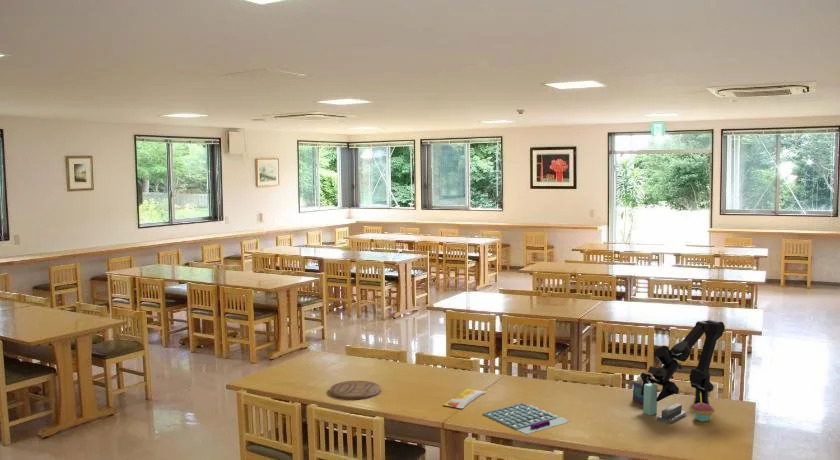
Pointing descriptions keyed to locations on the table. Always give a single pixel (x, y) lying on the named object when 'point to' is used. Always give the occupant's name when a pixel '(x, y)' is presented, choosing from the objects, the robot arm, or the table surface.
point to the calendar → (525, 418)
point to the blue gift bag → (638, 391)
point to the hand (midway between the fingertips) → (648, 397)
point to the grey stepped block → (671, 414)
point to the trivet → (355, 390)
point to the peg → (650, 399)
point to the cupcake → (702, 410)
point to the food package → (464, 398)
